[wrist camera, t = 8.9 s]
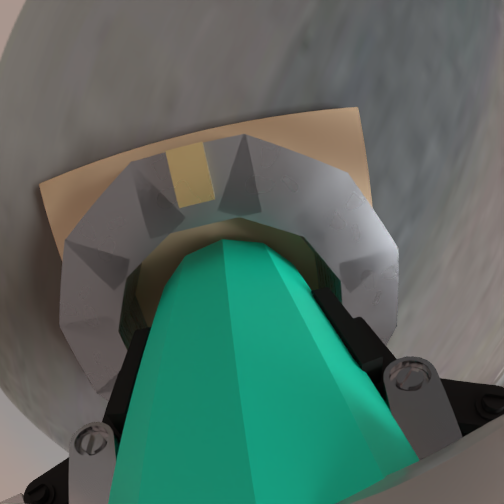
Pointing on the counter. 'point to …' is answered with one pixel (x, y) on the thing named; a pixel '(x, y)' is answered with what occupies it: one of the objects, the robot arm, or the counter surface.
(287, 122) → the oak board
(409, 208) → the counter surface
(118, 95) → the counter surface
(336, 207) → the steel collar
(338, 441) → the candle
